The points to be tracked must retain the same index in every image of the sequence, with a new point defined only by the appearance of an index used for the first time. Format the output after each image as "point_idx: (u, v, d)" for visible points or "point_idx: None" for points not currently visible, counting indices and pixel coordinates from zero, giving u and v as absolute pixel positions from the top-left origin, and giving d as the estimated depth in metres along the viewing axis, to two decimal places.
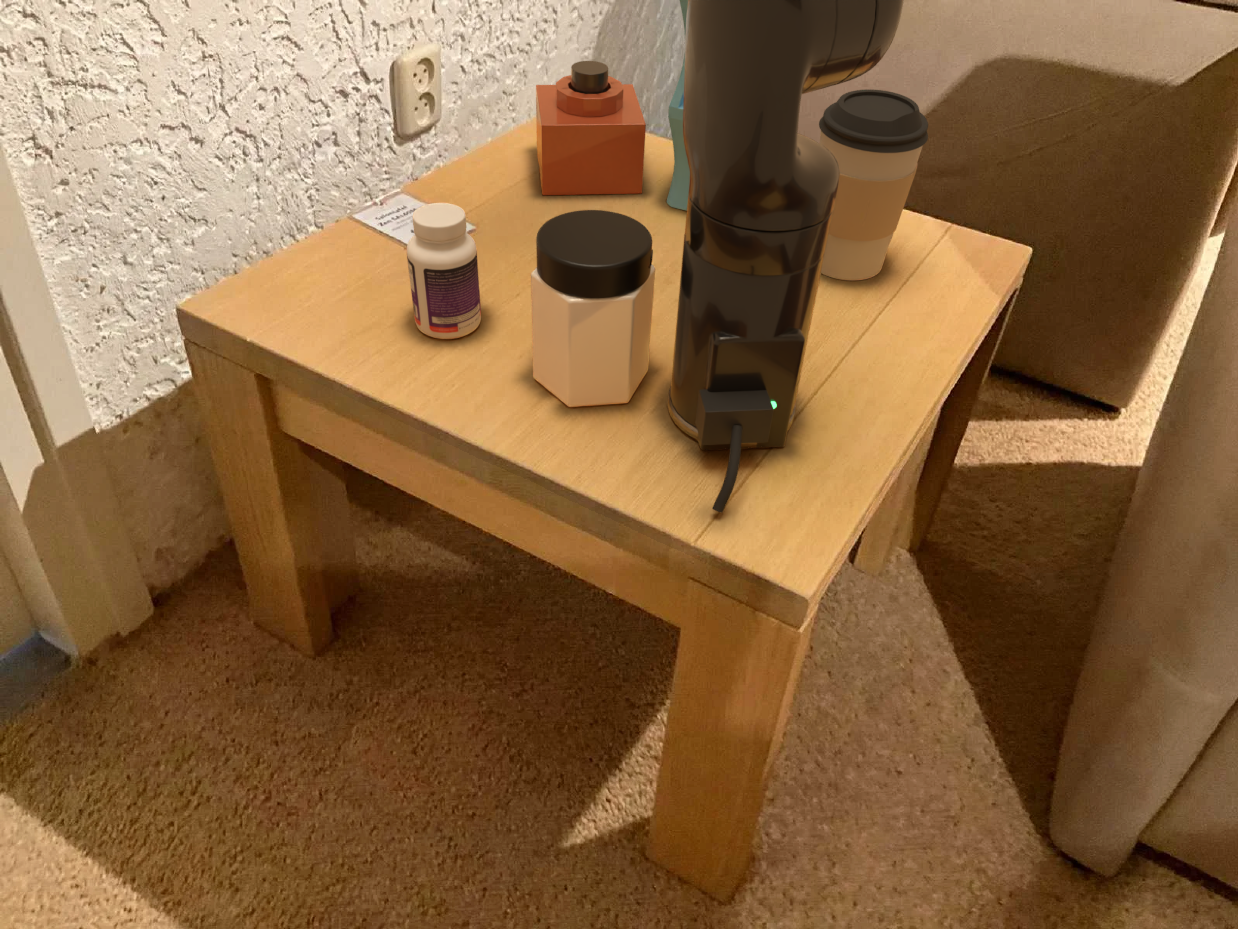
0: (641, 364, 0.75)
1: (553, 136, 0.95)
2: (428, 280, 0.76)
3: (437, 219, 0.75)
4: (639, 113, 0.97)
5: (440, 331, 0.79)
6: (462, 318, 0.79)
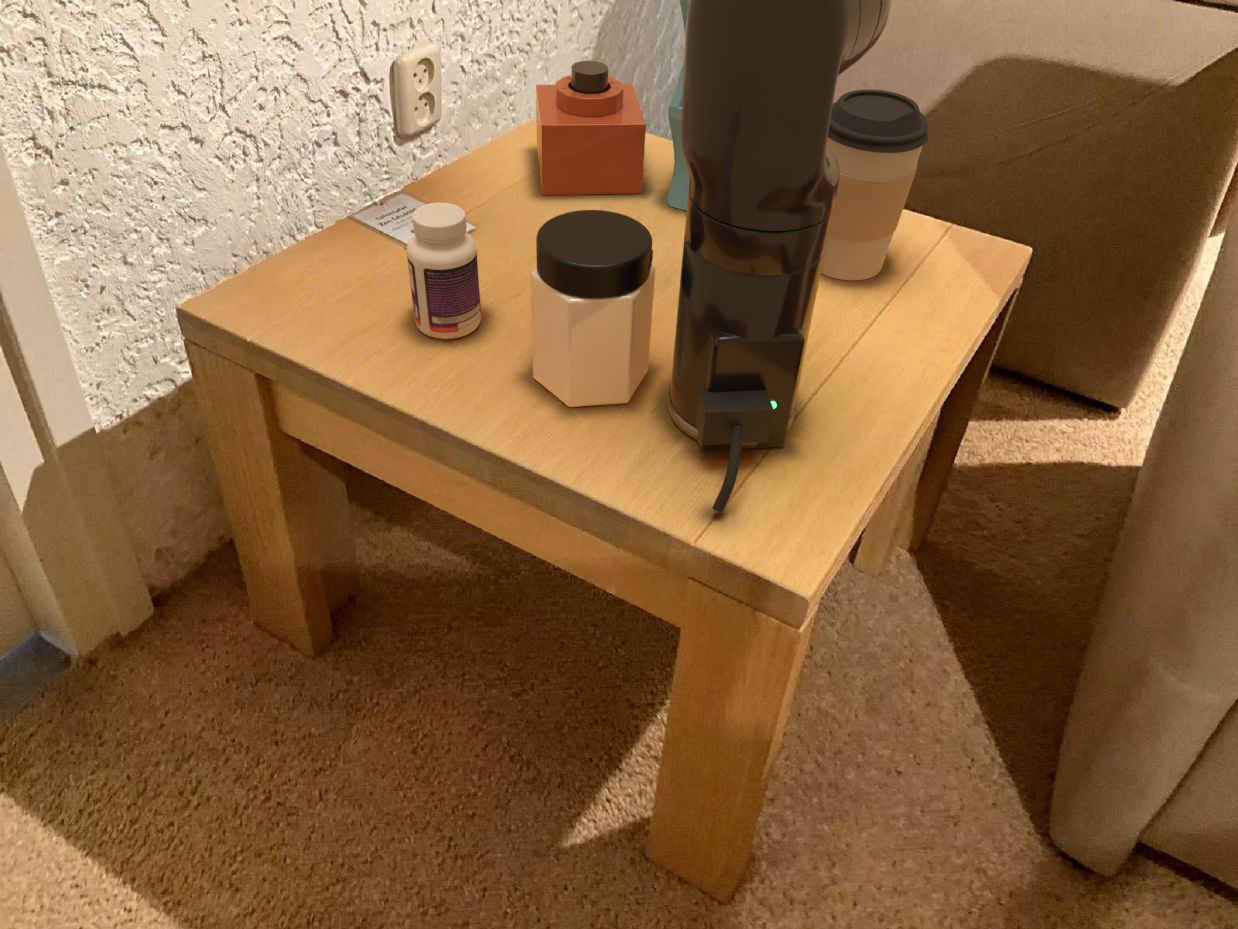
0: (641, 364, 0.75)
1: (553, 136, 0.95)
2: (428, 280, 0.76)
3: (437, 219, 0.75)
4: (639, 113, 0.97)
5: (440, 330, 0.79)
6: (462, 318, 0.79)
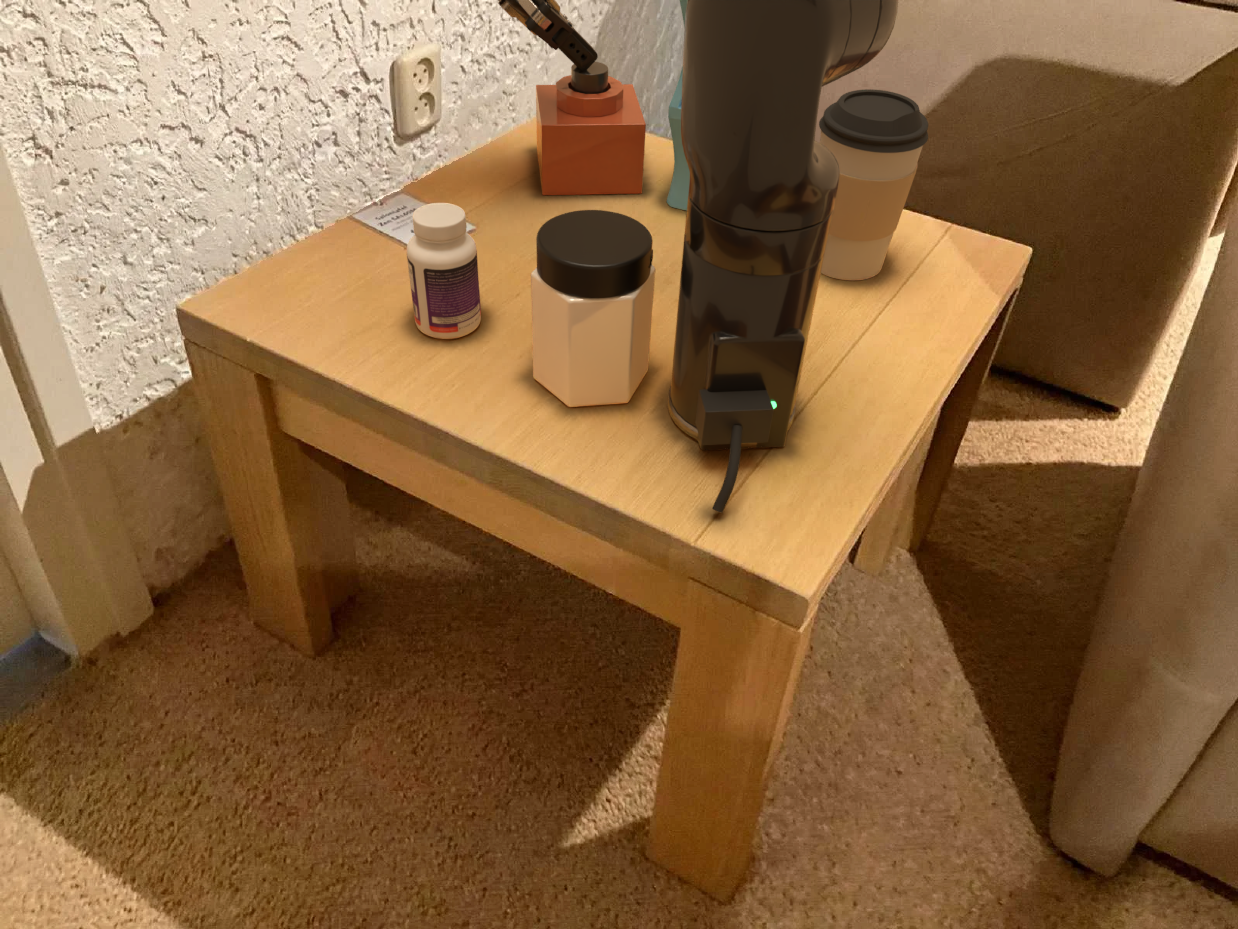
0: (641, 364, 0.75)
1: (553, 136, 0.95)
2: (428, 280, 0.76)
3: (437, 219, 0.75)
4: (639, 113, 0.97)
5: (440, 330, 0.79)
6: (462, 318, 0.79)
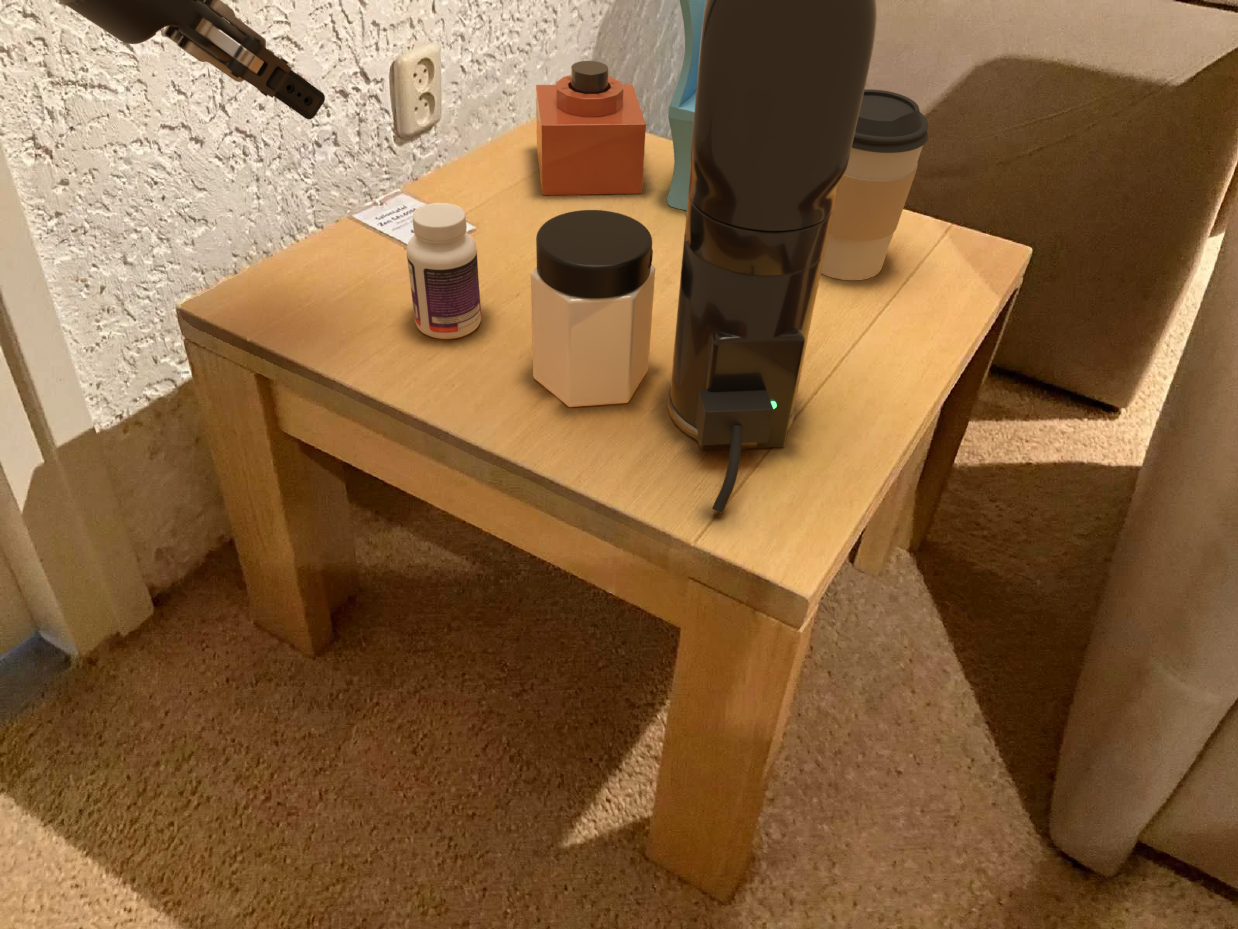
0: (641, 364, 0.75)
1: (553, 136, 0.95)
2: (428, 280, 0.76)
3: (437, 219, 0.75)
4: (639, 113, 0.97)
5: (440, 330, 0.79)
6: (462, 318, 0.79)
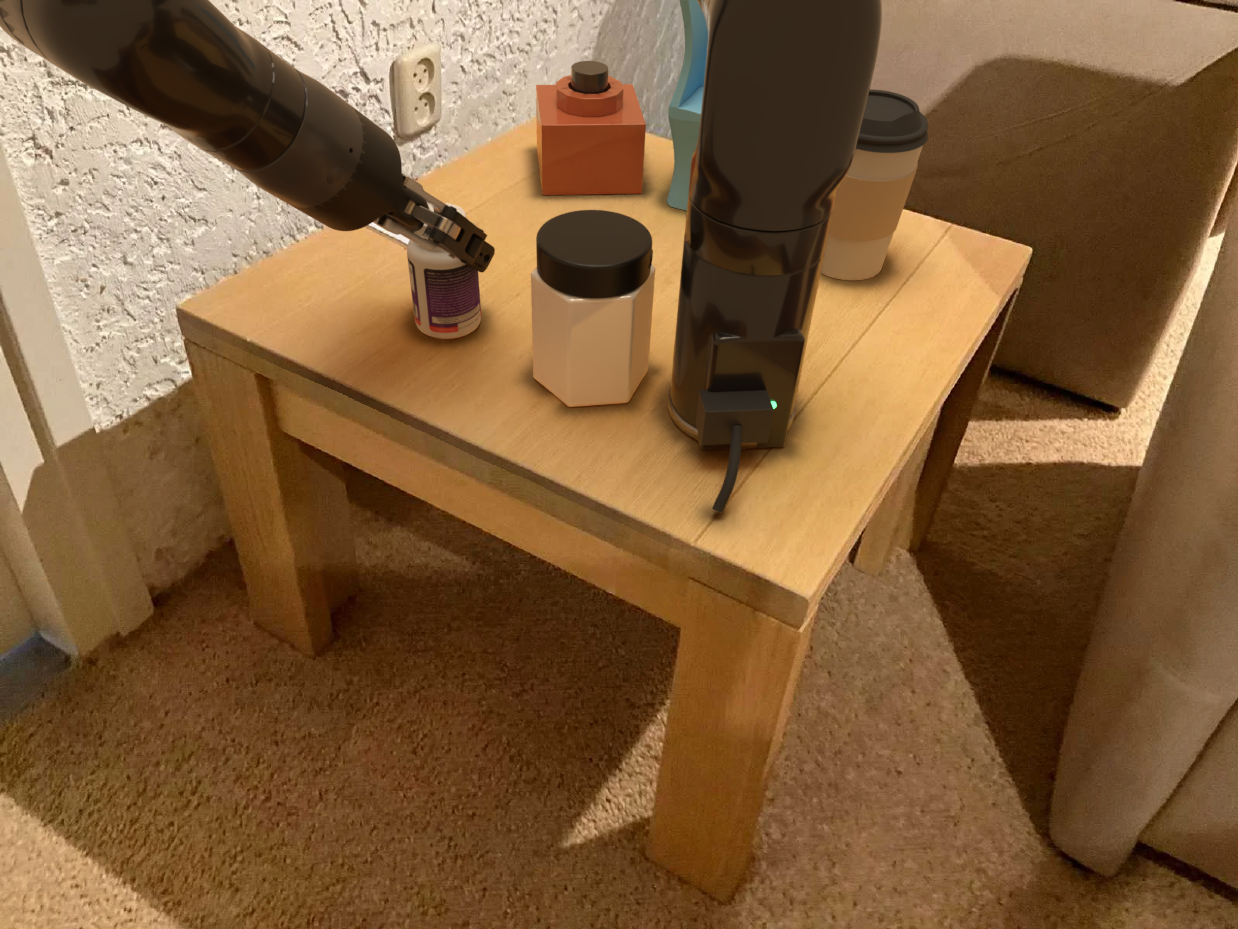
0: (641, 364, 0.75)
1: (553, 136, 0.95)
2: (428, 280, 0.76)
3: None
4: (639, 113, 0.97)
5: (440, 330, 0.79)
6: (462, 318, 0.79)
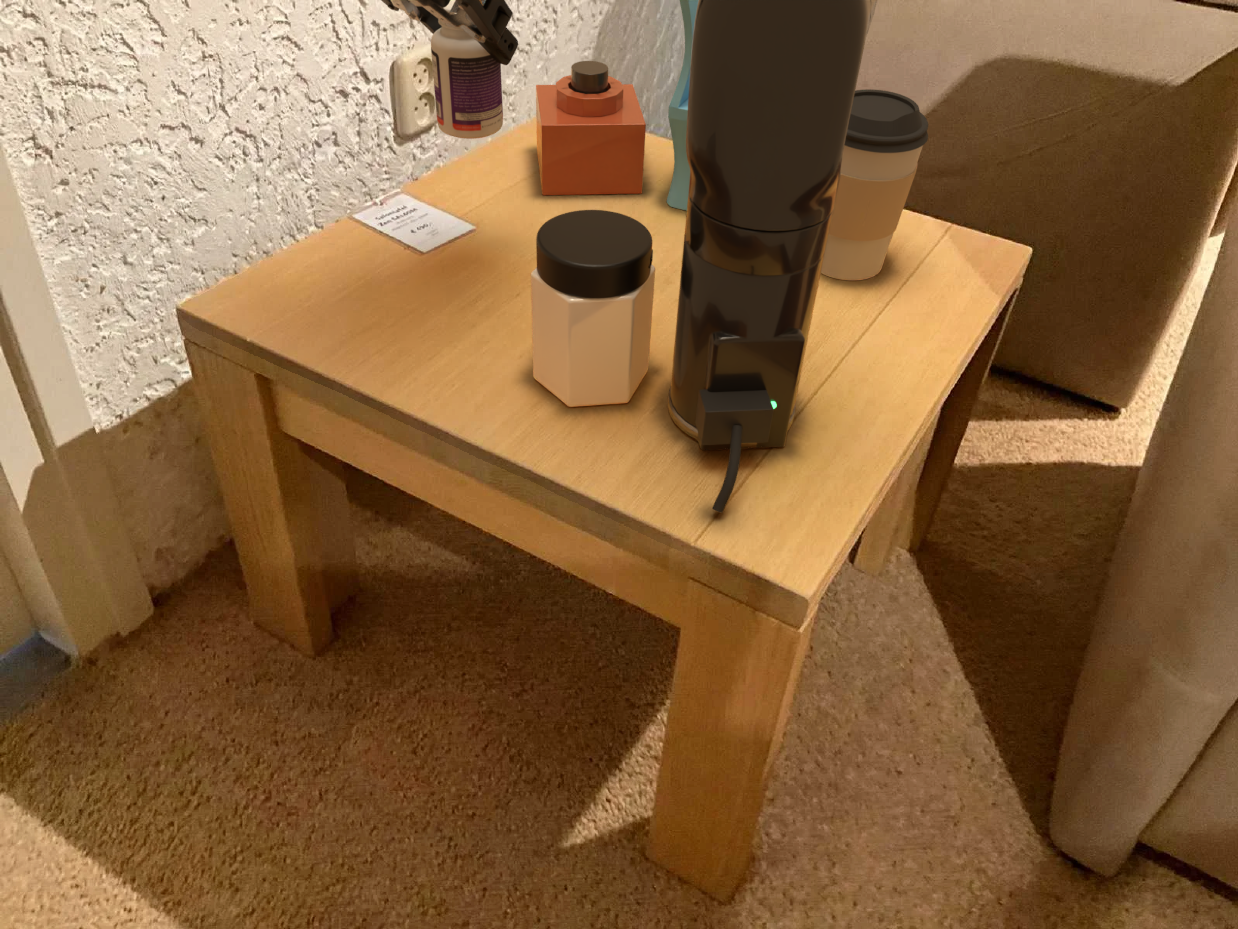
0: (641, 364, 0.75)
1: (553, 136, 0.95)
2: (452, 71, 0.77)
3: None
4: (639, 113, 0.97)
5: (463, 128, 0.80)
6: (485, 115, 0.80)
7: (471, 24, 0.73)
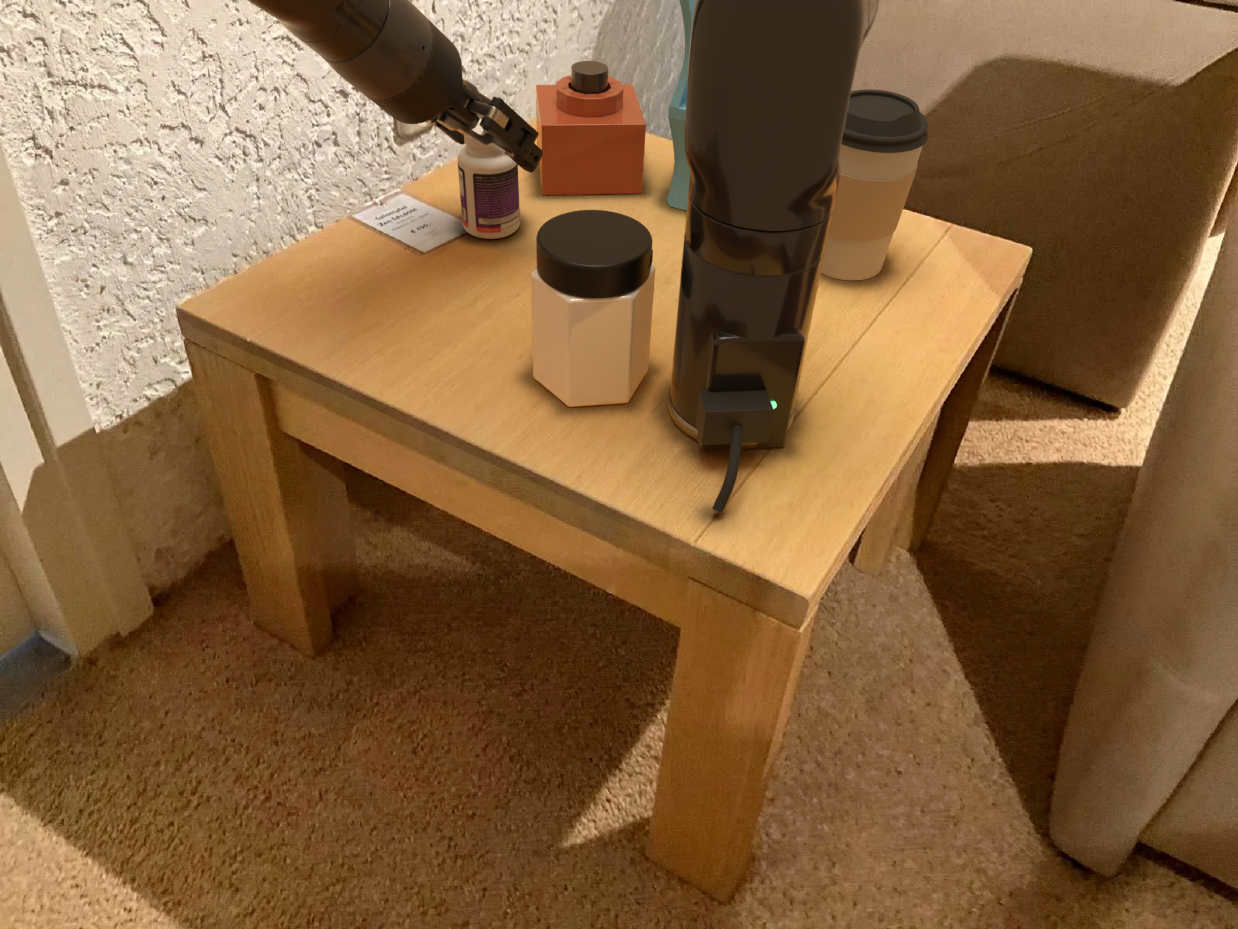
0: (641, 364, 0.75)
1: (553, 136, 0.95)
2: (476, 184, 0.89)
3: None
4: (639, 113, 0.97)
5: (485, 231, 0.91)
6: (505, 219, 0.91)
7: (499, 142, 0.83)
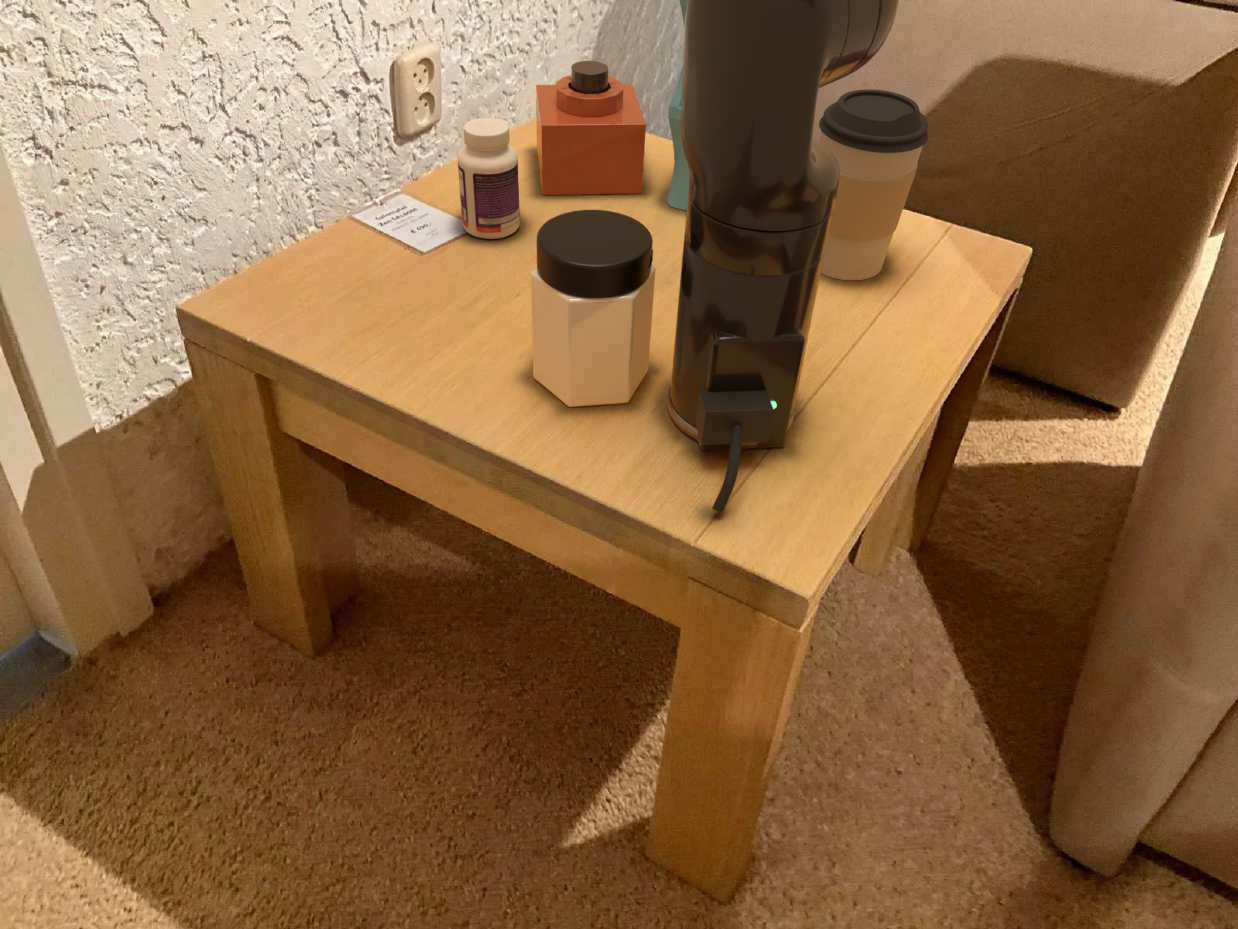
0: (641, 364, 0.75)
1: (553, 136, 0.95)
2: (476, 184, 0.89)
3: (485, 129, 0.87)
4: (639, 113, 0.97)
5: (485, 231, 0.91)
6: (505, 219, 0.91)
7: None
